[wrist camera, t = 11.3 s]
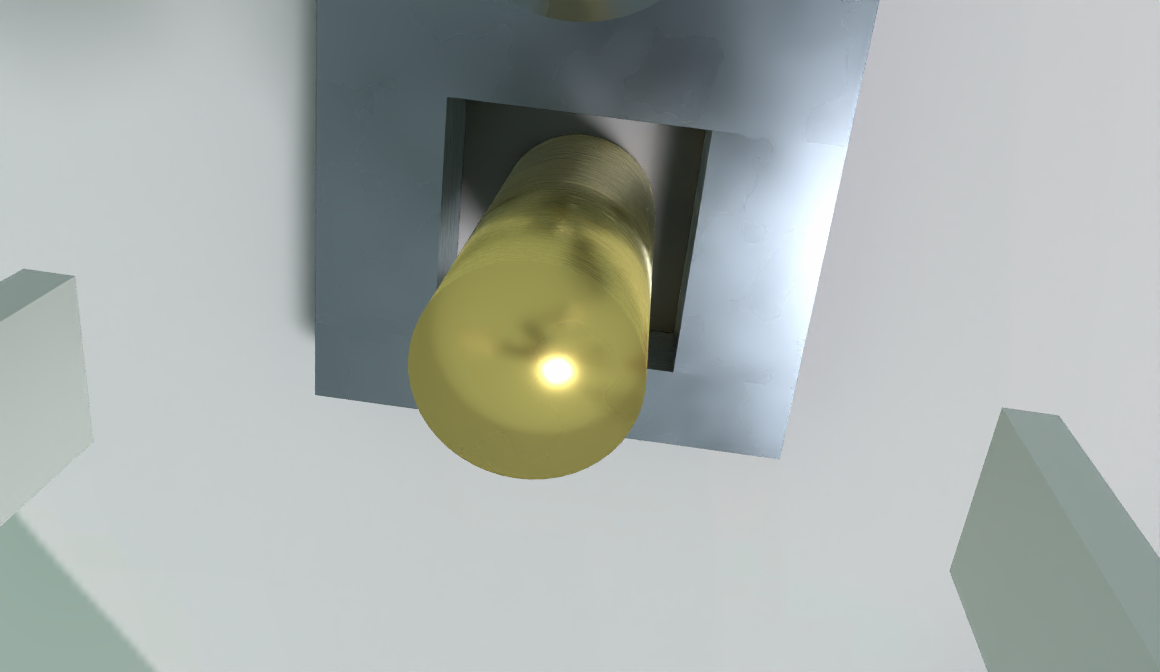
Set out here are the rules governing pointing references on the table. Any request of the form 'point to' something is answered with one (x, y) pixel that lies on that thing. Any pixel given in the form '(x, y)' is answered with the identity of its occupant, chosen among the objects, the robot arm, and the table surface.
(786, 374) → the gray peg plate
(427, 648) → the table surface
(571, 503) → the table surface
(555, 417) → the round pin
